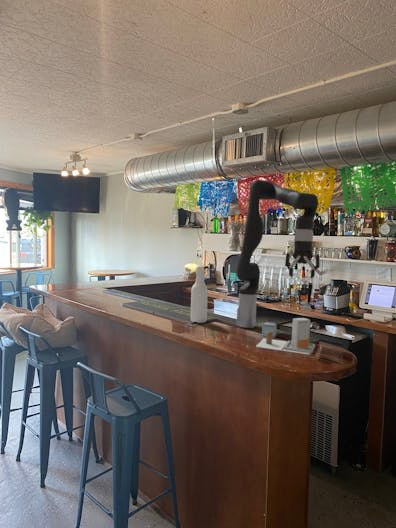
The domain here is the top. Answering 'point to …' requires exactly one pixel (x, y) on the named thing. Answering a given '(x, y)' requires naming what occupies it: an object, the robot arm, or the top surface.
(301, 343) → the skincare box
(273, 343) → the board
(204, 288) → the alcohol
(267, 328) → the blue-grey block
